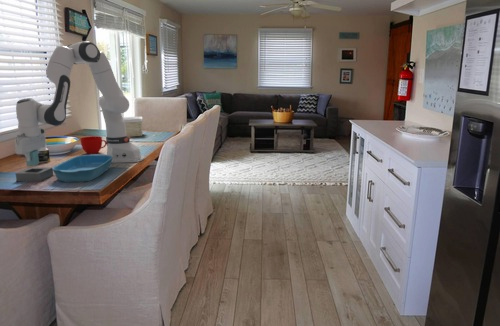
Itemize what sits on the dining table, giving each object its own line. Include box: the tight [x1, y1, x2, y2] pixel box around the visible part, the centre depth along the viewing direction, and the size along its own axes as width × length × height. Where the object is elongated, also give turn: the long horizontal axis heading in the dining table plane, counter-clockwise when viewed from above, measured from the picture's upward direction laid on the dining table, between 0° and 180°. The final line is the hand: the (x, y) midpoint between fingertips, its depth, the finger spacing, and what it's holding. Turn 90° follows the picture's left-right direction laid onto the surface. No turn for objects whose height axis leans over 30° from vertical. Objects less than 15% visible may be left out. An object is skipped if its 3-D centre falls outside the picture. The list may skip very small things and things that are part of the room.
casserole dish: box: [51, 153, 113, 183], centre depth 209 cm, size 37×22×7 cm, turn 178°
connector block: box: [25, 150, 40, 167], centre depth 201 cm, size 4×4×7 cm
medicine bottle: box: [38, 144, 51, 164], centre depth 239 cm, size 7×7×12 cm
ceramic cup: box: [79, 136, 107, 155], centre depth 260 cm, size 13×17×10 cm
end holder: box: [15, 166, 54, 182], centre depth 203 cm, size 12×12×4 cm
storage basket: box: [122, 115, 144, 138], centre depth 326 cm, size 24×16×15 cm
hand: (32, 159), depth 201 cm, fingers closed on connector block, 4 cm apart
